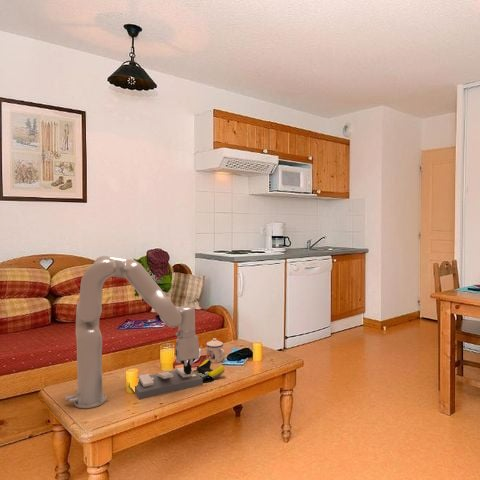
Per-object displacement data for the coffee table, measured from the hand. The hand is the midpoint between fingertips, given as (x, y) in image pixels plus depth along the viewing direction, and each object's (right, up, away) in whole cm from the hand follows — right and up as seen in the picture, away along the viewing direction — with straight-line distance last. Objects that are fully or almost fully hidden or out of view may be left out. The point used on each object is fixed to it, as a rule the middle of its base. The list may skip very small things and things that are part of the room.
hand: (187, 373), depth 183 cm
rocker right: (-2, 0, +4) cm, 4 cm away
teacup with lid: (+11, -4, +32) cm, 34 cm away
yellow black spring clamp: (+9, -5, +11) cm, 15 cm away
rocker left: (-18, -1, -6) cm, 19 cm away
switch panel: (-10, -5, -1) cm, 11 cm away
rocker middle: (-10, 0, -1) cm, 10 cm away
